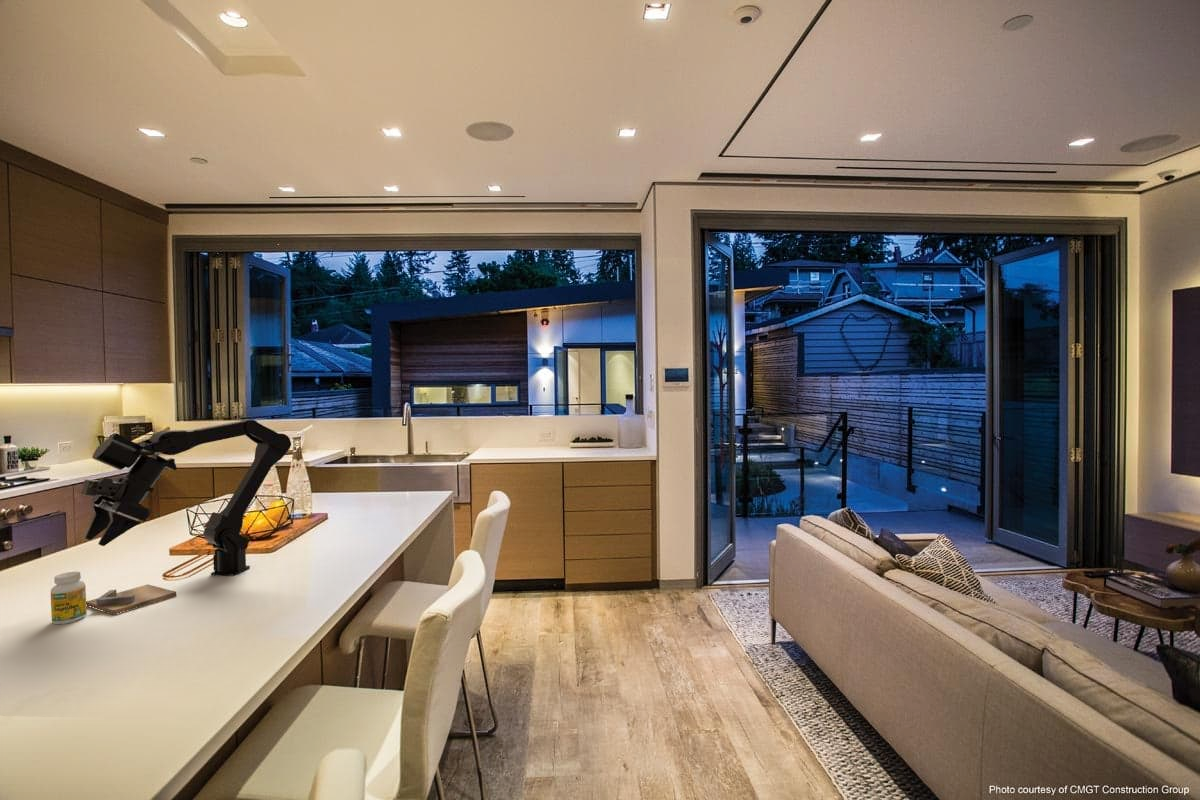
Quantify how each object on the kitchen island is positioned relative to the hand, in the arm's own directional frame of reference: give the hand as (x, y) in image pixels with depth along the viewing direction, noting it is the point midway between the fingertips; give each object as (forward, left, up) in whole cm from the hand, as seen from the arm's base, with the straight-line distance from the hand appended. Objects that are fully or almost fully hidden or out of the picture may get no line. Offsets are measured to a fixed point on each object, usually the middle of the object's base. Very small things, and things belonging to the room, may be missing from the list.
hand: (94, 542), depth 125 cm
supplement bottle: (-1, +7, -15) cm, 16 cm away
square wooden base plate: (-6, -3, -14) cm, 16 cm away
